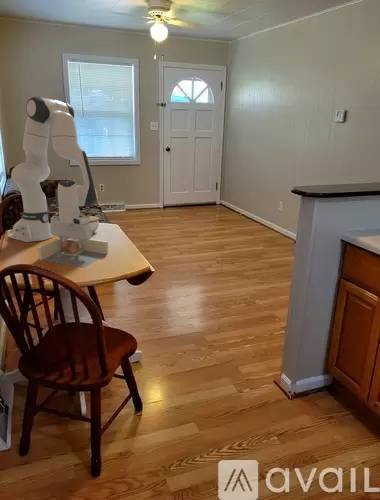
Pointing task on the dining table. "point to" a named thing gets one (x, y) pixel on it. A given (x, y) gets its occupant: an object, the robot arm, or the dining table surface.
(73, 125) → the robot arm
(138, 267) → the dining table surface
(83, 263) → the arena
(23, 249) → the dining table surface
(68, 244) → the block
